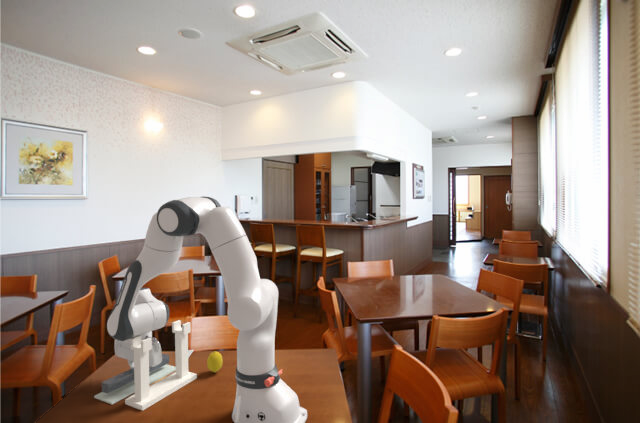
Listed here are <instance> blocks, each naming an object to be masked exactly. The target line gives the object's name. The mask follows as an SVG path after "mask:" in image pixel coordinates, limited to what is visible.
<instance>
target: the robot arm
mask: <svg viewBox="0 0 640 423" xmlns="http://www.w3.org/2000/svg"><path fill="white" fill-rule="evenodd" d="M145 233H146V234H145V238H144V245H143V247H142V250H141V251H140V253H139V255H138V257H137V258H136V259H135V260H134V261H132V262H131V263H130V264H129V266H128V268H127V270H126V272H125V274H124V278H123V281H122V284H121V285H120V286H121V287H120V288H119V291H118V295H117V298H116V300H115V303H114V305H113V308H112V310H111V312H110V314H109V315H108V317H107V322H106V330H107V333H108V336H110V337H111V338H112V339H114V354H115V356H116V357H118V358H122V359H125V360H127V364H128V366H129V367H130V369H132V368H134V350H131V338H133V337H136V336H138V335H141V341H142V340H145V339H147V338H152V349H151V350H149V366H151V367H154V366H157V365H159V364H160V363H161V362H162V354H163V352H162V347H161V343H160V342H159V340H158V338H156V337H153V331H157V330H159V329H162V328H164V327H165V326H166V325H167V324H168V322H169V318H170V308H169V305H168V304H167V303H166V302H164V301H163V300H159V299H157V298H156V297H155V296H154V295H153V294H152V292H151V291H152V290H151V289H150V287H143V286H145V285H146V283H148V282H149V281H151V280H153V279H154V278H156V277H158V276H160V275H163V274H164V273H167V272H169V271H170V270H172V269H173V268H174V267H175V266H176V265H177V263H178V262H179V259H180V258H181V253H182V247H183V243H184V242H183V241H184V237H189V236H194V235H195V234H200V235H202V236H203V237H204V238H205V239H206V242H207V244H208V246H209V248H210V252H211V253H212V256H213V257H214V260H215V263H216V266H218V269H219V272H220V274H221V278H222V281H223V285H224V290H225V291H224V292H225V295H226V296H225V297H226V300H227V318H228V321H229V323H230V324H231V325H232V327H234V328H235V329H237V330H239V332H238V337H237V340H236V368H235V382H236V392H235V398H234V399H235V400H234V405H233V410H232V413H231V419H232V422H234V423H306V421H307V419H308V410H307V409H306V408H304V407H302V406H300V401H299V397H298V394H297V393H296V392H295V391H294V390H293V389H292V388H291V387H290V386H289V385H287V383H286V382H285V381H283V379H282V378H281V375H282V374H283V368H282V369H280V370H279V369H278V367H277V364H276V363H275V362H276V361H275V359H276V358H275V357H276V356H275V354H276V353H275V352H276V351H275V347H276V346H275V341H276V340H275V339H276V338H275V337H276V329H277V322H278V321H277V320H278V319H277V318H278V305H279V288H278V286H277V285H276V283H275V282H273V281H272V280H270V279H269V278H261V277H260V271H259V268H258V267H259V266H258V260H257V259H258V258H257V256H256V253H255V252H254V249H253V246H252V245H251V242H250V241H249V238H248V235H247V234H246V231H245V229H244V227H243V225H242V224H241V222H240V220H239V219H238V217H237V216H236V214H235V213H234V211H233V210H232V209H231V208H229V207H227V206H222V205H221V204H220V202H219V201H218V200H217V199H215V198H213V197H210V196H194V197H191V196H190V197H189V196H188V197H183V198H179V199H173V200H169V201H167V202H165V203H163V204H162V205H161V206H160V207H159V209H158V210H157V212H155V213H154V214H153V215H152V217H151V218H150V221H149V224H148V226H147V230H146V232H145Z"/></svg>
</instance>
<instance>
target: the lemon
mask: <svg viewBox="0 0 640 423" xmlns="http://www.w3.org/2000/svg"><path fill="white" fill-rule="evenodd" d="M207 357H208V358H207V360H206V361H207V362H206V365H207V366H206V367H207V368H208V370H209V371H211V372H212V373H217V372H218V371H219V370H221V368H222V366H223V363H224V362H223V359H224V358H223V356H222V354H221V353H220V352H218V351H216V350H215V351H212V352H210V353H209V355H208V356H207Z"/></svg>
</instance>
